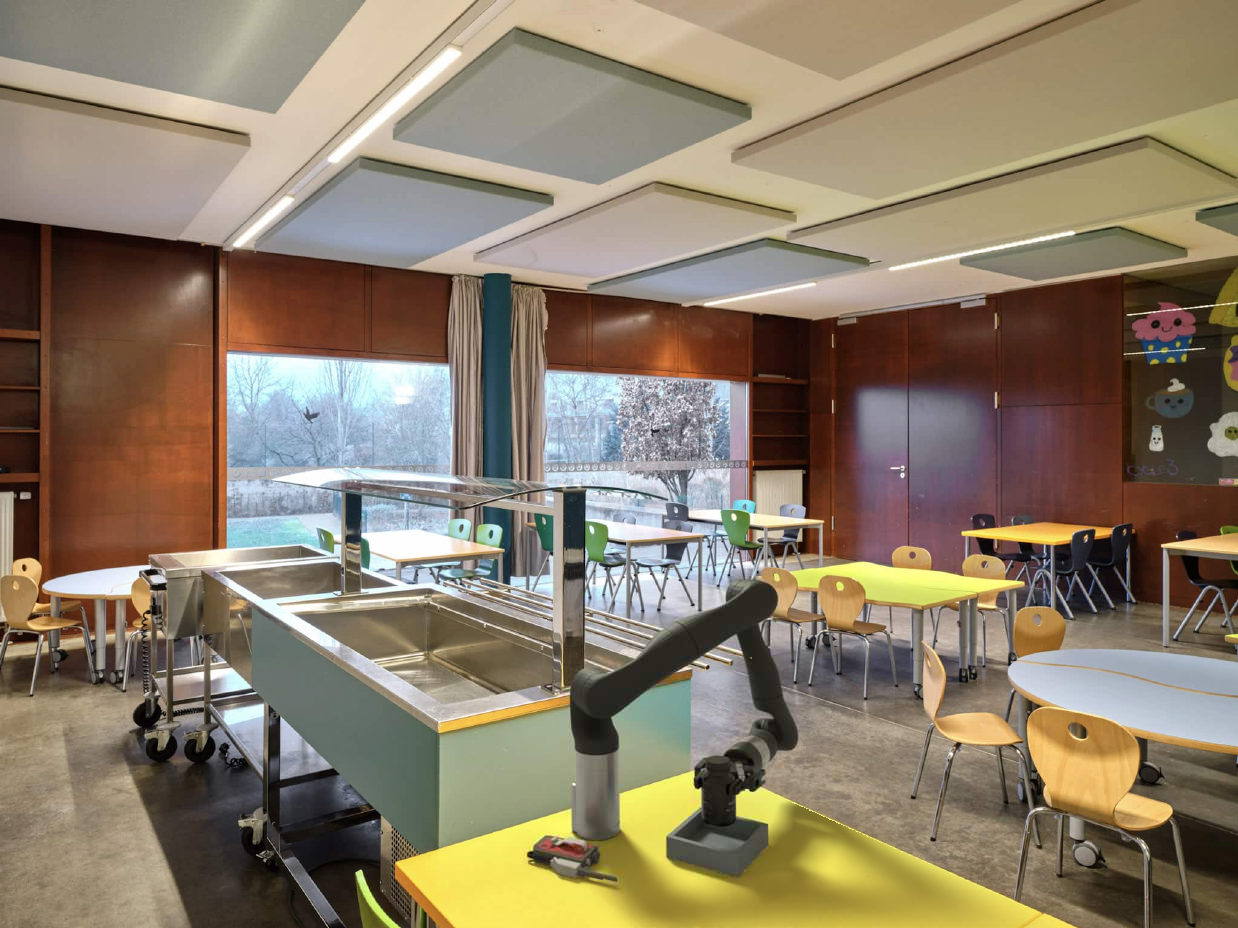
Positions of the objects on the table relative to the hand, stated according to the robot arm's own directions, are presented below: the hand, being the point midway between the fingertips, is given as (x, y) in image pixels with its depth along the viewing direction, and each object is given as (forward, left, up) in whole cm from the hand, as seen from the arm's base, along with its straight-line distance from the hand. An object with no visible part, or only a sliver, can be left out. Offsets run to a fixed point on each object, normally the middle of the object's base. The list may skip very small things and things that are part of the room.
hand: (713, 788), depth 154 cm
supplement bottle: (0, +2, -7) cm, 8 cm away
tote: (0, +2, -13) cm, 13 cm away
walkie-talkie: (-21, -17, -14) cm, 30 cm away
